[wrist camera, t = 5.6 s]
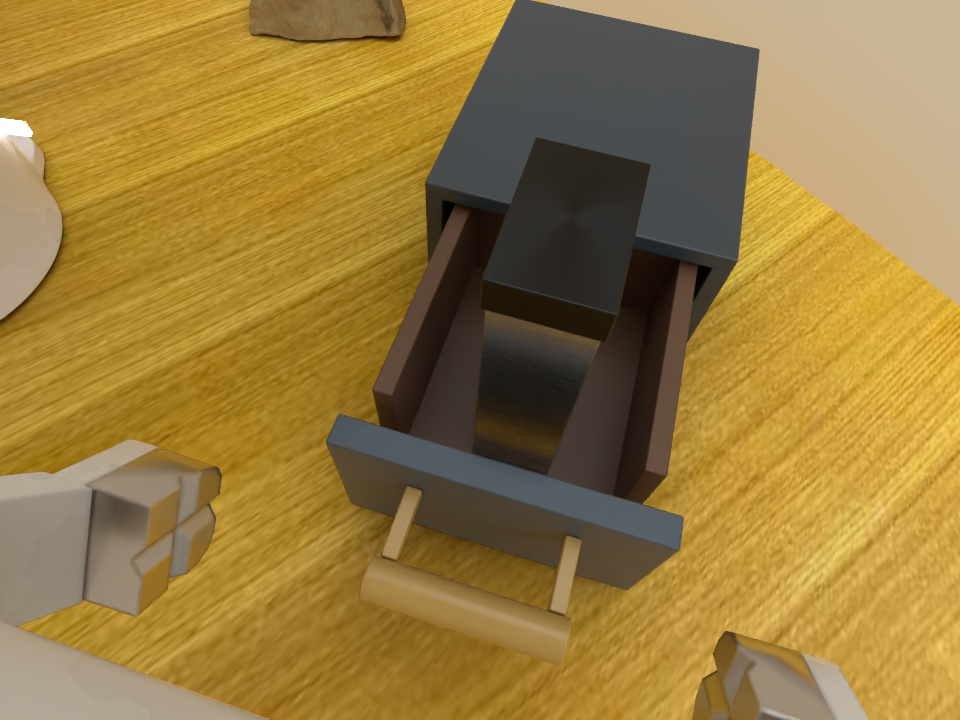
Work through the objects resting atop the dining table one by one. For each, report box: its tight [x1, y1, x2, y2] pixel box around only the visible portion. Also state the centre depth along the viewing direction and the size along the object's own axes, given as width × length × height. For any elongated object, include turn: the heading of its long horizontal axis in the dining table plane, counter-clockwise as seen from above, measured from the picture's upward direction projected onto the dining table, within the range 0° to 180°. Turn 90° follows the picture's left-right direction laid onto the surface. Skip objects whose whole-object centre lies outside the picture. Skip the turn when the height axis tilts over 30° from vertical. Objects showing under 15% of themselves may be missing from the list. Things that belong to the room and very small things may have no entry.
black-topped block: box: [472, 137, 651, 474], centre depth 23 cm, size 4×6×12 cm, turn 164°
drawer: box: [326, 203, 698, 666], centre depth 26 cm, size 19×12×7 cm, turn 163°
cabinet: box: [425, 0, 759, 342], centre depth 34 cm, size 16×14×9 cm
